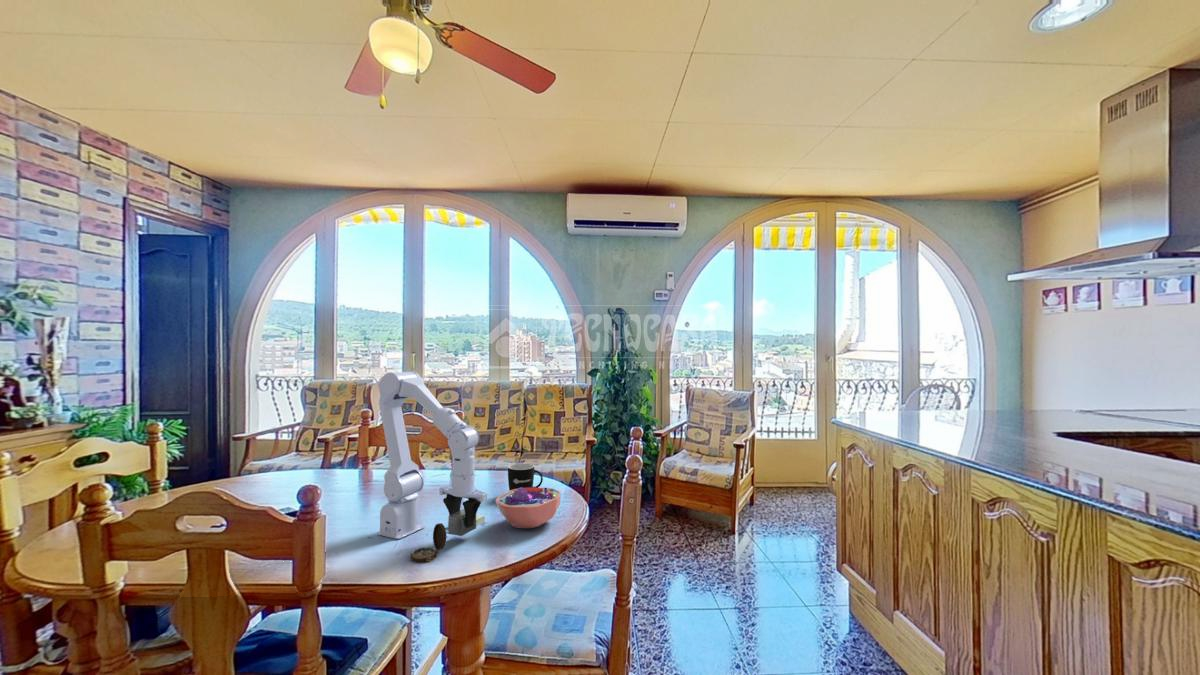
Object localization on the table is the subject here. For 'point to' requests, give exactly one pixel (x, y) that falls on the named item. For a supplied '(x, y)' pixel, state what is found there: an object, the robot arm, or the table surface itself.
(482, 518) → the stand
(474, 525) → the block
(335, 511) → the table surface
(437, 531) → the compass
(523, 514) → the cell model
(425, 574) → the table surface
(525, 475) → the mug
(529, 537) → the table surface
